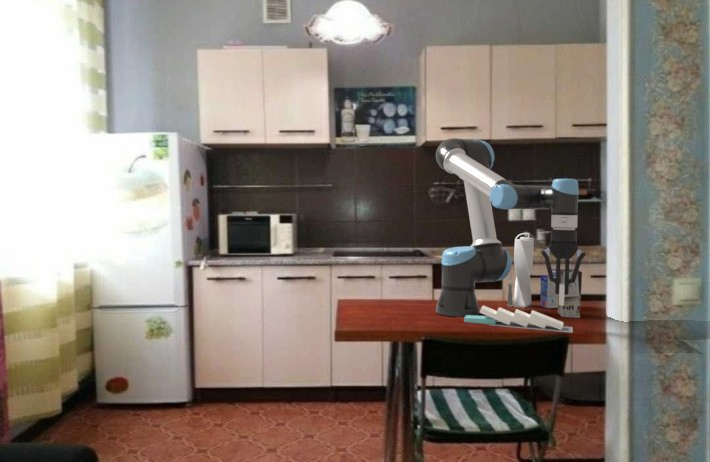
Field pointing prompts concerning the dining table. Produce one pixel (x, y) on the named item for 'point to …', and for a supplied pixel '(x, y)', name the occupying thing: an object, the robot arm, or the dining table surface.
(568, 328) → the gray flat rectangular plate
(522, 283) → the skyscraper
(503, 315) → the domino
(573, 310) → the coffee box
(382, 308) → the dining table surface
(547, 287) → the ink cartridge box
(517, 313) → the domino
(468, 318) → the teal domino
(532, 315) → the domino
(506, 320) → the domino
